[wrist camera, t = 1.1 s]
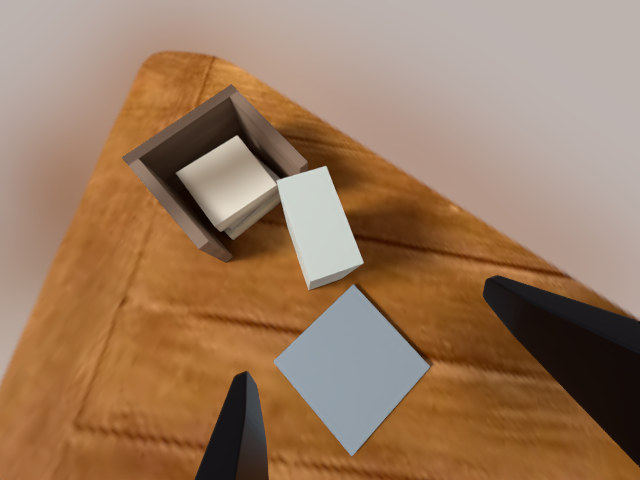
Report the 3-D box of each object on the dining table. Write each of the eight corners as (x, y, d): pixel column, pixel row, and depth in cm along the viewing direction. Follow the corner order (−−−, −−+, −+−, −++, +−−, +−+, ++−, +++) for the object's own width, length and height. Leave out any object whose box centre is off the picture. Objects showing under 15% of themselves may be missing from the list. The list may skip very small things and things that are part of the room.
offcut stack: (289, 199, 25) (285, 177, 21) (234, 244, 24) (217, 230, 19) (248, 155, 26) (236, 125, 21) (193, 196, 24) (168, 172, 20)
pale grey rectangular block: (340, 279, 23) (363, 263, 14) (308, 290, 23) (310, 281, 14) (318, 217, 24) (326, 166, 15) (287, 227, 24) (276, 180, 15)
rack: (307, 195, 25) (308, 162, 19) (226, 262, 23) (198, 248, 17) (248, 133, 26) (231, 84, 20) (166, 192, 24) (121, 157, 18)
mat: (427, 365, 22) (430, 366, 21) (350, 452, 20) (351, 456, 20) (352, 284, 23) (353, 284, 23) (274, 360, 21) (273, 361, 21)
